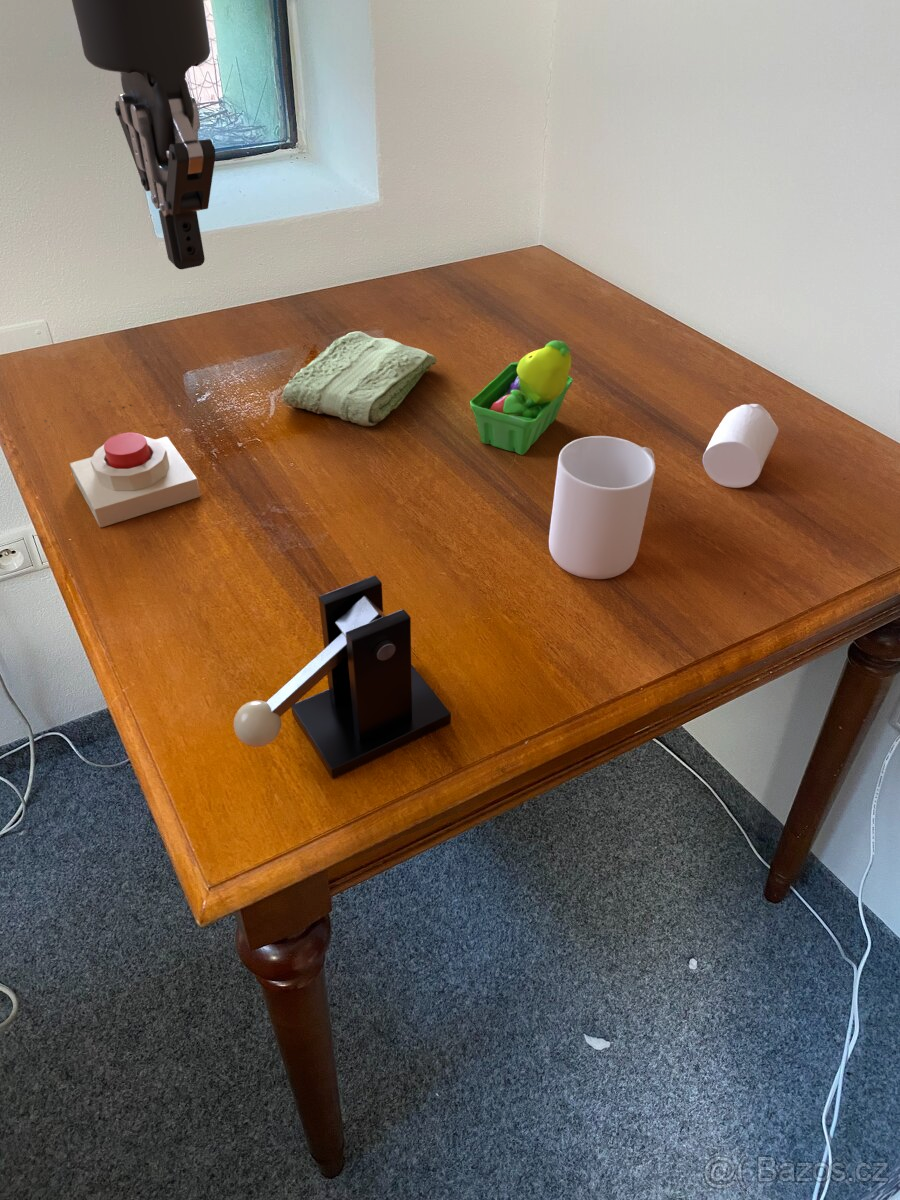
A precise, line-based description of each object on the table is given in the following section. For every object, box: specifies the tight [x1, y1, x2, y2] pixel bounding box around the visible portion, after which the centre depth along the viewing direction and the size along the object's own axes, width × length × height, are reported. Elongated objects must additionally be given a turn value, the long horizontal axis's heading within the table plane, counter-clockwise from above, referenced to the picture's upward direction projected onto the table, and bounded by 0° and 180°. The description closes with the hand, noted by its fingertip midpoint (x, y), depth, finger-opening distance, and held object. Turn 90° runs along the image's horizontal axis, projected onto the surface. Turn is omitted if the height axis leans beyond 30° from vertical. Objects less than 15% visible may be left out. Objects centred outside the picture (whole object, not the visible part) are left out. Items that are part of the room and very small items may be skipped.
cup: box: [548, 435, 656, 580], centre depth 80 cm, size 8×12×10 cm
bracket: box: [290, 574, 452, 780], centre depth 63 cm, size 10×7×12 cm
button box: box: [69, 435, 202, 529], centre depth 87 cm, size 10×9×4 cm
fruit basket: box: [469, 339, 574, 456], centre depth 94 cm, size 11×9×11 cm
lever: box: [233, 596, 386, 748], centre depth 60 cm, size 13×3×3 cm
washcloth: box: [280, 330, 437, 427], centre depth 103 cm, size 13×18×3 cm
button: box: [103, 432, 150, 469], centre depth 85 cm, size 4×4×2 cm
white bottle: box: [702, 403, 779, 489], centre depth 92 cm, size 6×12×6 cm, turn 153°
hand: (187, 263), depth 63 cm, fingers closed
